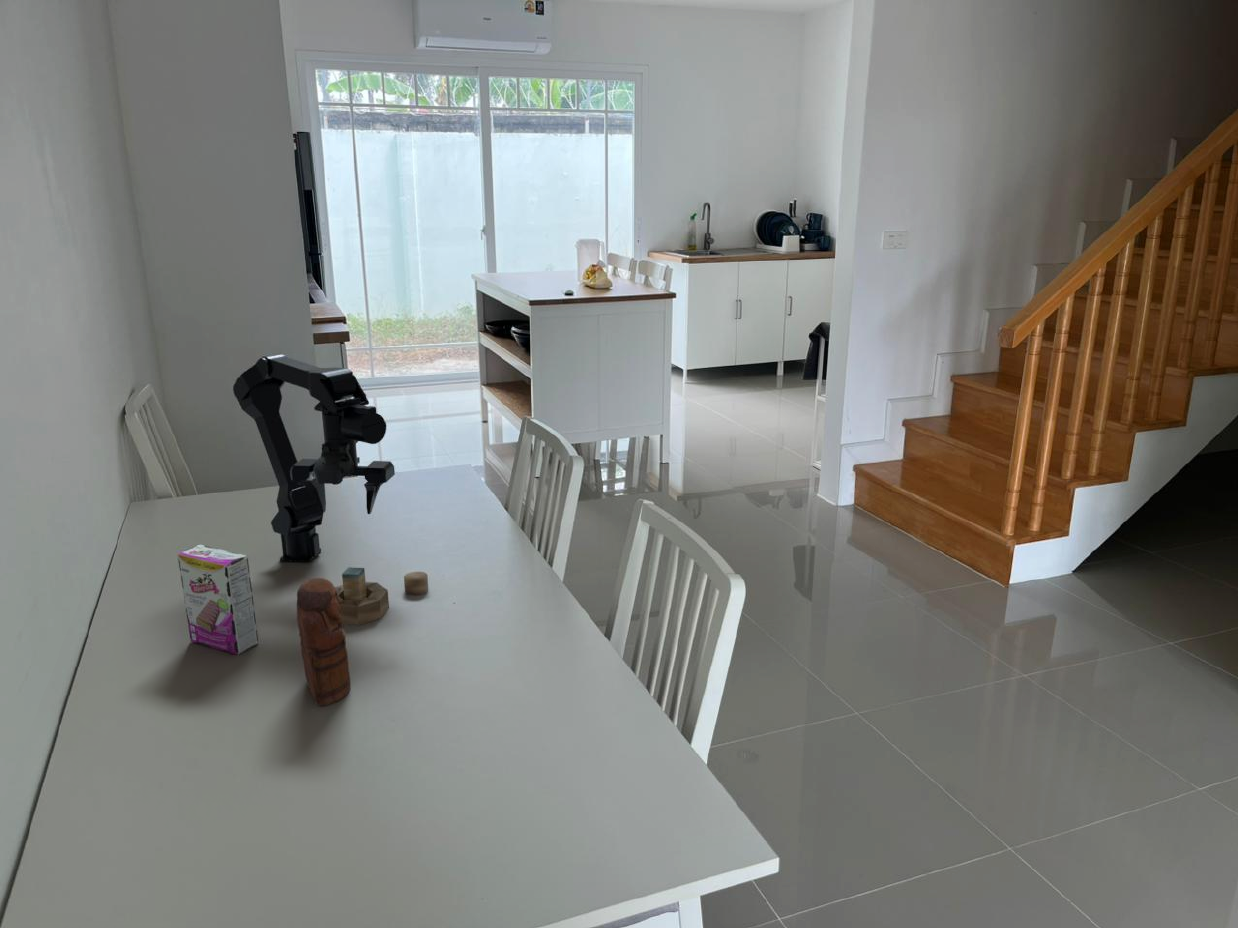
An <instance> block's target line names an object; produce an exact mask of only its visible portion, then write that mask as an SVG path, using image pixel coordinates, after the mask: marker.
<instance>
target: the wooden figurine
mask: <svg viewBox="0 0 1238 928" xmlns="http://www.w3.org/2000/svg"><path fill="white" fill-rule="evenodd" d="M335 587H336V586H335V585H334V584H333V582H332V581H331V580H329V579H327V578H323V577H317V578H310V579H308V580H305V581H304V582H302V584H300V586H299V588H298V589H297V591H296V592H297V593H296V598H297V599H296V600H297V602H296V619H297V625H298V631H299V633H298V634H299V638H300V649H301V657H302V662H303V667H304V673H305V674H304V675H305V680H306V683H307V685H308V688H309V689H310V692H311V696H312V698H313V700H314V701H315V703H316V704H317V705H320V706H328V705H331V704H333V703H334V702H337V701H340V700H341V699H342V698H343V697H345V696H347V694H348V693H349V692H350V691H351V677H350V676H351V673H350V667H349V657H348V651H347V646H346V645H347V640H346V639H347V638H346V632H345V630H344V628H343V624H342V620H341V616H340V612H341V608H340V606H339V599H338V595H337V590H336V589H335Z"/></svg>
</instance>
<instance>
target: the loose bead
mask: <svg viewBox="0 0 1238 928" xmlns="http://www.w3.org/2000/svg"><path fill="white" fill-rule="evenodd" d="M403 580H404V581H403V582H404V583H403V584H404V593H405V594H406V595H409V596H420V595H421V596H422V595H424V594H426V593H427V592H428V591H429V578H428V573H426V572H424V571H411V572H409V573H405V574H404V576H403Z"/></svg>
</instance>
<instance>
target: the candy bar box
mask: <svg viewBox="0 0 1238 928" xmlns="http://www.w3.org/2000/svg"><path fill="white" fill-rule="evenodd" d="M177 561H178V568H179V572H180V573H179V574H180V579H181V586H182V594H183V599H184V606H185V612H186V619H187V625H188V632H189V640H190V642H191V643H194V644H199V645H202V646H205V647H210V648H213V649H217V650H220V651H223V652H227V653H230V654H233V655H234V654H235V655H237V656H238V655H240V654H243V653H244V652H246V651H248V650H250V649H251V648H252V647H255V646H256V645H258V644H259V637H258V629H257V628H258V627H257V622H256V620H257V619H256V612H255V605H254V604H255V603H254V598H253V597H254V596H253V589H252V581H251V573H250V566H249V556H248V555H246V554H243V553H237V552H233V551H228V550H224V549H220V548H215V547H212V546H208V545H204V544H198V545H195V546H193V547H190V548H188V549H186V550H183V551H181V552H179V553H177Z"/></svg>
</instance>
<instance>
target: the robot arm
mask: <svg viewBox="0 0 1238 928" xmlns="http://www.w3.org/2000/svg"><path fill="white" fill-rule="evenodd" d="M356 377H357V376H355V375H354V372H353V371H352V370H351V369H350V368H347V367H336V366H335V367H319V366H316V365H312V364H310V363H307V362H303V361H300V360H297V359H294V358H291V357H288V356H287V355H285V354H281V353H276V354H270V355H265V356H262V357H261V358H258V360H257V361H256V362H255V364H254V365H253V366H251V367H249V368H247V369H246V370H245V371H243V372H242V373H241V374H240V376H238V377H237V378H236V380H235V382H234V384H233V386H232V387H233V389H232V391H233V395H234V397H235V399H236V401H237V402H238V404H239V406H240V408H241V410H242V411H243V412H245V413H246V414H247V415H249V417H251V419H253V420H254V421H255V424H256V427H257V430H258V433H259V435H260V438H261V440H262V442H263V446H264V449H265V451H266V453H267V456H268V459H269V463H270V465H271V468H272V470H273V474H274V476H275V478H276V481H277V484H278V487H279V488H278V493H277V496H276V504H277V509H278V510H277V513H276V514H275V515H274V517H273V518H272V520H271V521H270V524H271V528H272V531H273V533H276V534H279V535H280V540H281V550H282V555H281V556H280V557H279V561H280V562H296V563H297V562H298V563H300V562H301V563H305V562H306V563H309V562H311V561H312V560H314V559H315V557H317V556H318V555H319V554H320V552H322V548H320V547H321V546H320V537H319V533H318V532H317V530H316V526H321V525H322V523H323V518H324V513H325V512H326V508H327V501H326V486H325V485H326V484H329V485H331V484H332V485H335V486H336V485H340V484H341V483H342V482H343V481H344V478H345V477H350V478H351V477H353V476H355V477H364V480H365V481H366V482H365V483H364V484H363V486H364V488H365V491H366V492H365V493H366V499H365V500H366V513H367V515H371V514H372V512H373V508H374V506H375V501H376V499H377V495H378V493H379V491H380V488H381V486H382V485H383V484H385V483H388V482H389V481H390V480H391V478H393V477H394V476H395V475H396V471H395V465H394V464H393V462H392V461H389V460H388V461H387V460H373V461H372V462H370V463H369V464H368V465H358V464H360V463H361V461H360V456H359V457H358V454H357V452H358V451H357V443H358V442H360V443H366V444H370V445H376V444H379V442H380V443H381V441H382V440H383V438H384V437H385V435H386V432H387V422H386V421H385V419H384V417H383V416H382V415H381V414H379V413H377V407H376V406H373V405H372V406H371V405H370V402H369V399H368V398H367V394H366V393H365V392H364V390H363V388H362V387H361V384H360V383H359V381H358V379H357V378H356ZM285 383H288V384H291V385H294V386H296V387H300V388H303V389H306V390H307V391H308V393H309V395H310V397H312V398H313V399H315V400H316V401H319V402H318V403H317V404H316V405H315V406H314V407H313V408H314V411H316V412H321V419H322V431H323V432H322V433H323V439H324V441H323V443H322V444H321V454H320V457H318V459H317V458H315V459H314V458H302V459H300V460H298V459H297V456H296V454H295V451H294V449H293V446H292V443H291V440H290V438H289V435H288V433H287V430H286V427H285V424H284V421H283V418H282V416H281V412H280V409H281V405H282V401H283V396H282V395H283V394H282V391H281V390H282V389H281V388H282V387H283V386H284V385H285Z"/></svg>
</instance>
